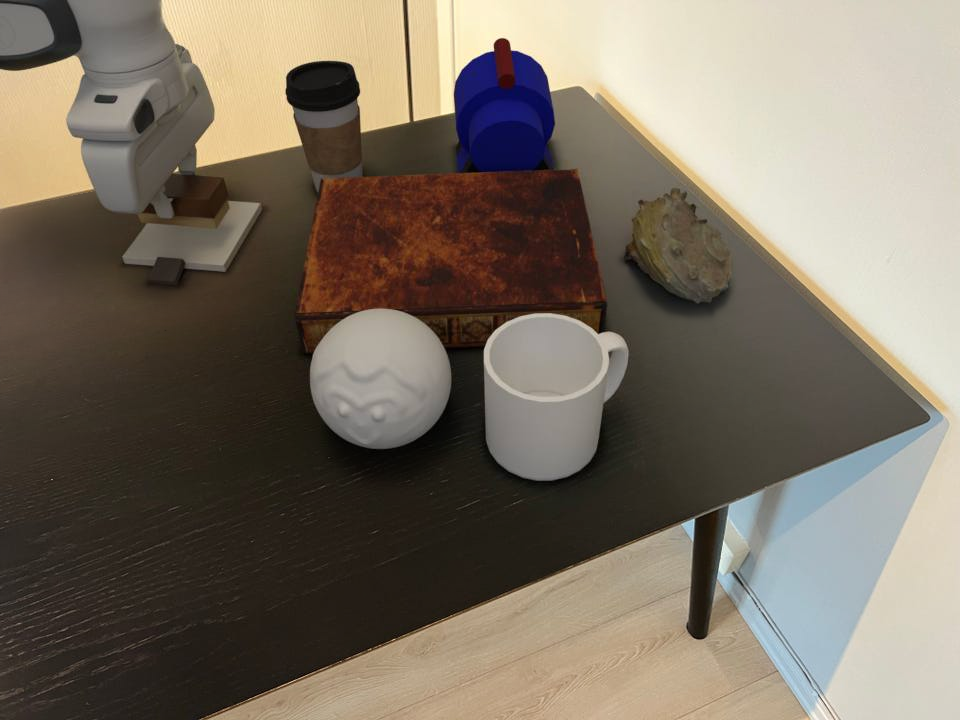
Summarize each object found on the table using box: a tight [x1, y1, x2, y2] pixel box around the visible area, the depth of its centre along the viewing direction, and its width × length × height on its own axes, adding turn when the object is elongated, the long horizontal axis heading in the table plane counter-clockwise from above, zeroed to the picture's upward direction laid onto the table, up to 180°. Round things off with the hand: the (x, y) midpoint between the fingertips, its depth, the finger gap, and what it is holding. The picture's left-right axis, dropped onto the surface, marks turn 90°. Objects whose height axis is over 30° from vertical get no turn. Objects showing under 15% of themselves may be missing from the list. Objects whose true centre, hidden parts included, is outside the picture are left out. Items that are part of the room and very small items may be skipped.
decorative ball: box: [309, 309, 452, 450], centre depth 68 cm, size 12×12×12 cm
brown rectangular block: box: [137, 173, 230, 229], centre depth 88 cm, size 9×4×4 cm, turn 81°
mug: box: [483, 313, 629, 482], centre depth 67 cm, size 13×10×10 cm
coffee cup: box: [285, 60, 364, 194], centre depth 94 cm, size 8×8×15 cm
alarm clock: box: [453, 37, 556, 173], centre depth 97 cm, size 12×12×15 cm
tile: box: [121, 200, 263, 273], centre depth 92 cm, size 12×12×1 cm
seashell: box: [623, 187, 733, 305], centre depth 83 cm, size 11×14×10 cm
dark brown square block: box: [148, 257, 185, 286], centre depth 87 cm, size 3×3×1 cm
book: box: [293, 168, 608, 355], centre depth 85 cm, size 30×24×5 cm
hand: (179, 199), depth 88 cm, fingers closed on brown rectangular block, 4 cm apart
